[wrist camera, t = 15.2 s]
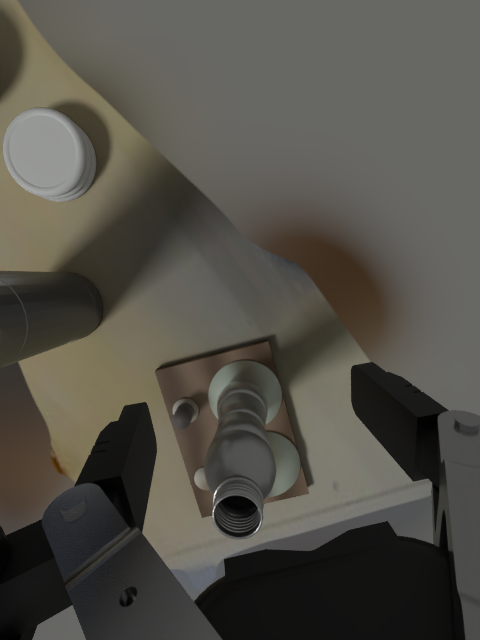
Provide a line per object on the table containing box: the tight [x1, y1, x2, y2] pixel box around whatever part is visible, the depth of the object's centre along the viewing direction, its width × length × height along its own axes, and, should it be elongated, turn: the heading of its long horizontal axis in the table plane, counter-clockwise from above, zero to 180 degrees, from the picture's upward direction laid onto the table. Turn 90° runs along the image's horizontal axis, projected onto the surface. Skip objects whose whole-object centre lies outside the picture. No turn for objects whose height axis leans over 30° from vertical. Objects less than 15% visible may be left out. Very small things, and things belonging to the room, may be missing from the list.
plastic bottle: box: [204, 380, 276, 539], centre depth 31 cm, size 6×7×20 cm
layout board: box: [155, 340, 309, 518], centre depth 41 cm, size 16×23×4 cm
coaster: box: [3, 107, 96, 202], centre depth 37 cm, size 10×10×4 cm
